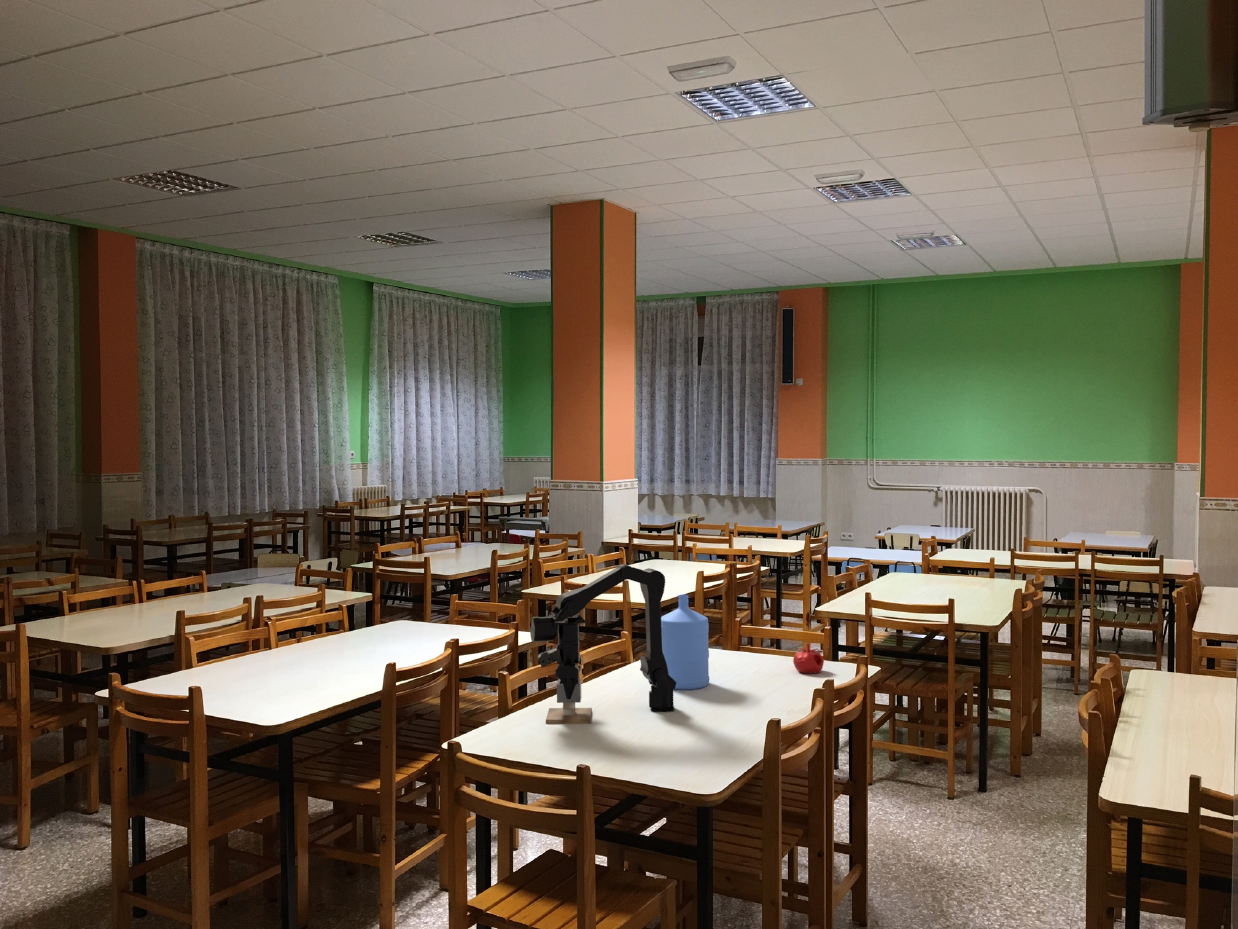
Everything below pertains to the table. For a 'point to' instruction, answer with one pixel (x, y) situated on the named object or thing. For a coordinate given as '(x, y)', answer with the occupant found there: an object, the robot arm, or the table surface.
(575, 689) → the grey cube shelf
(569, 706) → the post block
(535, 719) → the table surface
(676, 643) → the water jug
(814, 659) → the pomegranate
